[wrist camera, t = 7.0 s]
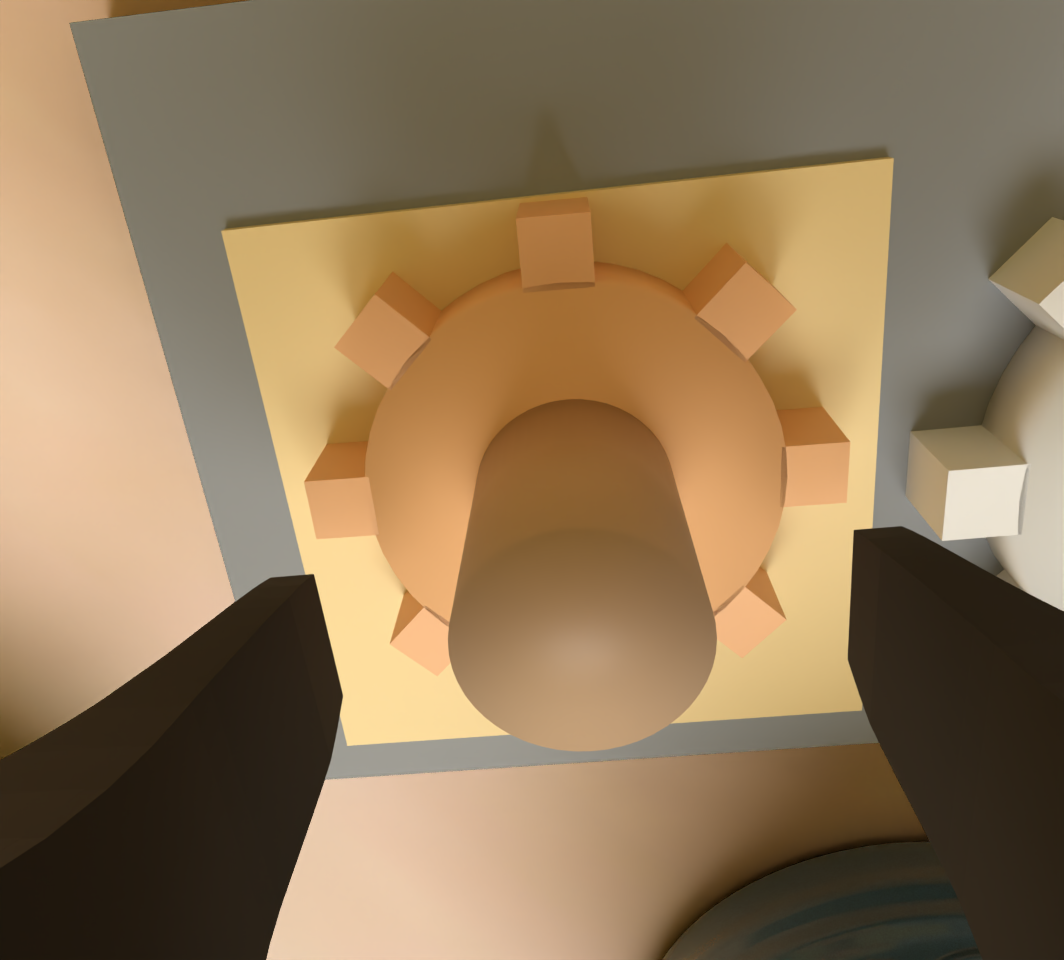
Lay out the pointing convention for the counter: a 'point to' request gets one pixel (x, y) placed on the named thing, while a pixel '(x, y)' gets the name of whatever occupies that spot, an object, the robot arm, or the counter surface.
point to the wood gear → (577, 480)
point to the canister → (839, 912)
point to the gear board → (619, 238)
